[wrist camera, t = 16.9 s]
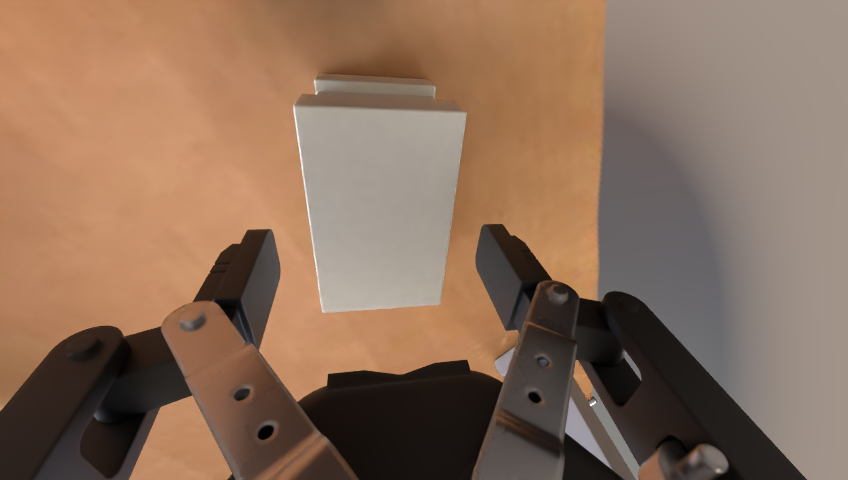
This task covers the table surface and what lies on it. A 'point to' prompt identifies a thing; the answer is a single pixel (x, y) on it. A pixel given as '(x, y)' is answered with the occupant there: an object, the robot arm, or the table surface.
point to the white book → (379, 196)
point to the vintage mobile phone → (584, 426)
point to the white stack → (374, 86)
